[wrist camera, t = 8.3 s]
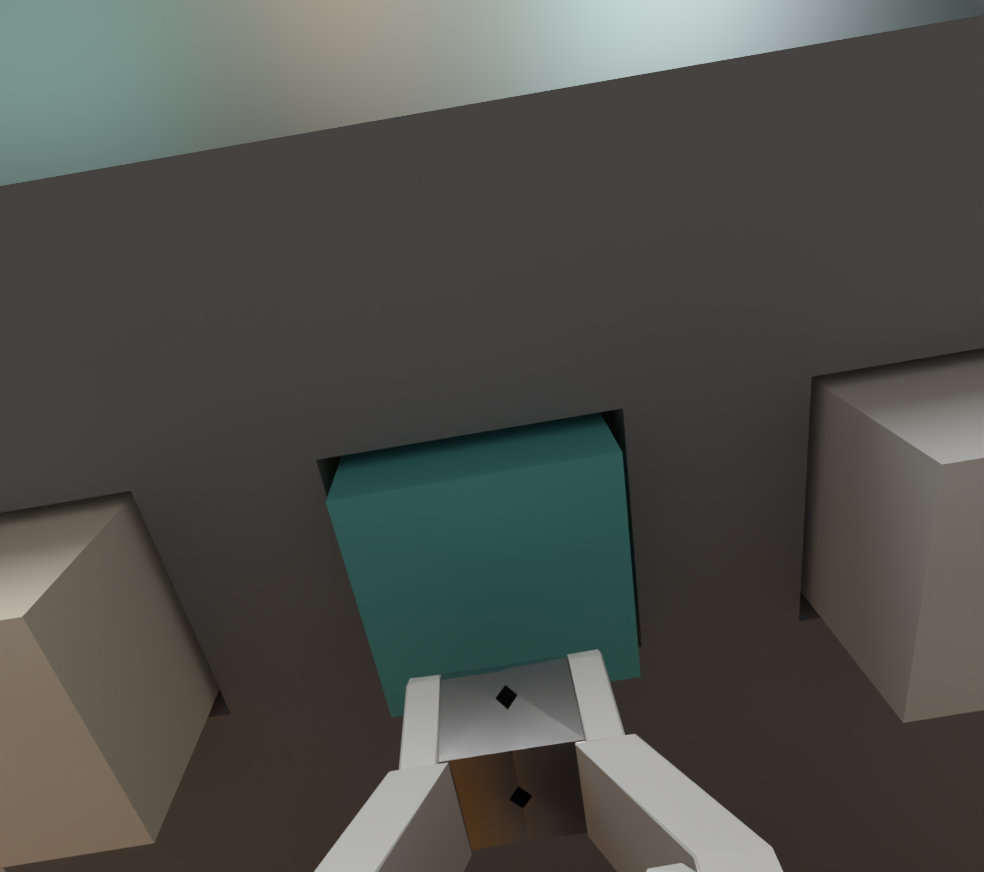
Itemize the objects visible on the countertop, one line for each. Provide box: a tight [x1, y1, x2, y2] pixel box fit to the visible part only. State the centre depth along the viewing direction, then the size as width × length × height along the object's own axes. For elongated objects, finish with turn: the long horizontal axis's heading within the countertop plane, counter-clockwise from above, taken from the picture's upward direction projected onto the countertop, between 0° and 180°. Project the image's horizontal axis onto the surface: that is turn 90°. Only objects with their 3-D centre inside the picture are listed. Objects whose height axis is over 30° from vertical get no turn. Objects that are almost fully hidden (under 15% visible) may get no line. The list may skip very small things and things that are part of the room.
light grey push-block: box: [801, 348, 984, 723], centre depth 13 cm, size 5×6×5 cm
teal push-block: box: [326, 412, 641, 717], centre depth 15 cm, size 5×6×5 cm
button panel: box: [0, 15, 984, 872], centre depth 17 cm, size 26×4×26 cm, turn 93°
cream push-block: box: [0, 491, 219, 868], centre depth 13 cm, size 5×6×5 cm
